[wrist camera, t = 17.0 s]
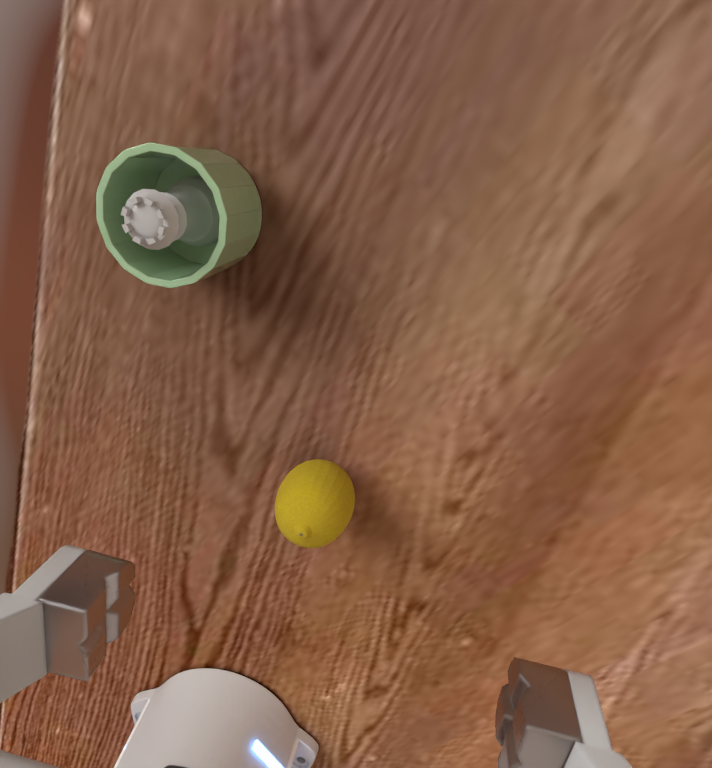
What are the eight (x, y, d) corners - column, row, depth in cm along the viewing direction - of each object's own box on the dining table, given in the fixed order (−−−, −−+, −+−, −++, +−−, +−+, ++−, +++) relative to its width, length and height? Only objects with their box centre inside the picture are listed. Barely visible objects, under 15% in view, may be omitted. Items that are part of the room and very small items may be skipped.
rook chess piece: (180, 248, 39) (116, 267, 32) (164, 180, 38) (93, 184, 31) (241, 240, 38) (190, 258, 31) (226, 170, 37) (169, 171, 30)
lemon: (336, 429, 43) (311, 484, 36) (376, 486, 44) (359, 550, 37) (278, 461, 45) (243, 519, 37) (318, 515, 46) (292, 581, 39)
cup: (256, 278, 40) (221, 298, 34) (150, 257, 41) (96, 273, 35) (267, 158, 37) (231, 156, 31) (152, 138, 38) (94, 132, 32)
